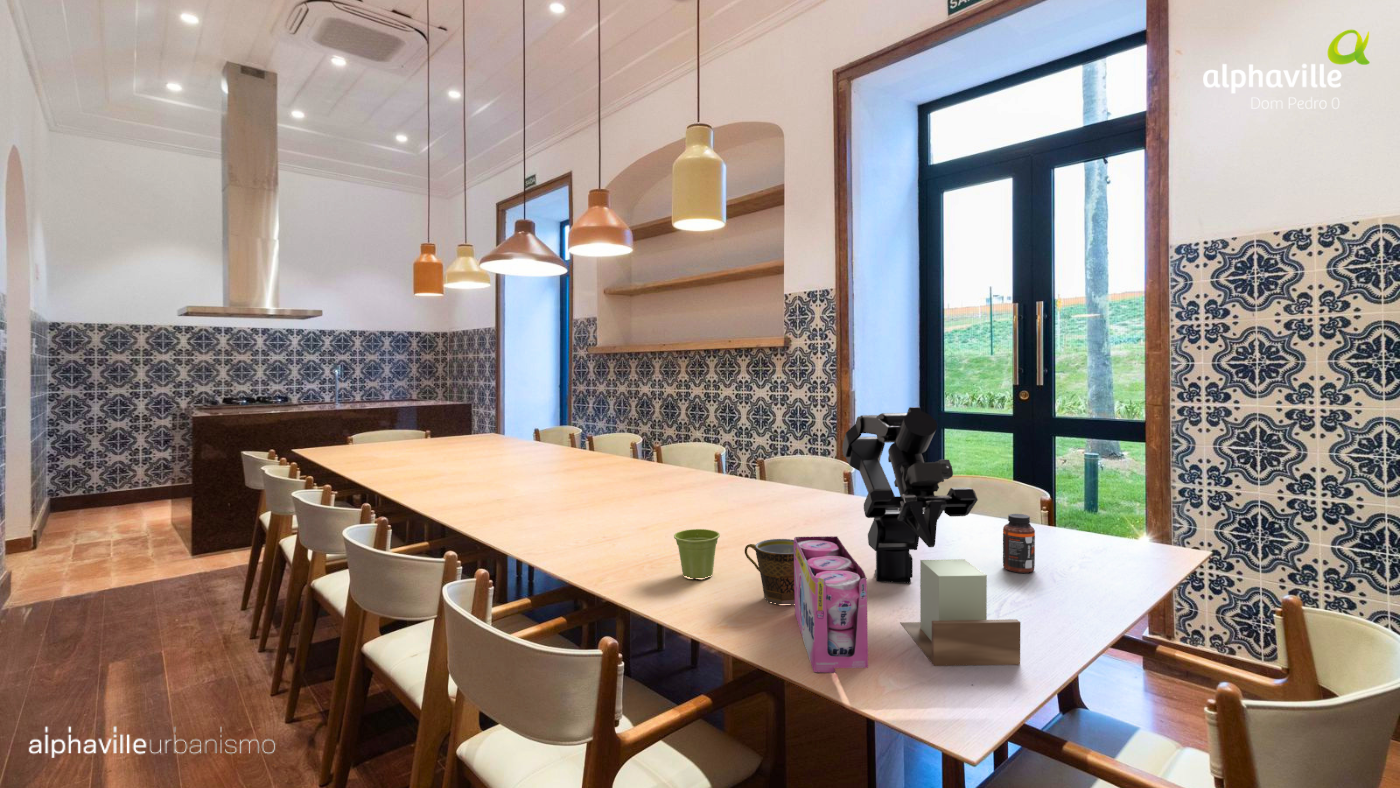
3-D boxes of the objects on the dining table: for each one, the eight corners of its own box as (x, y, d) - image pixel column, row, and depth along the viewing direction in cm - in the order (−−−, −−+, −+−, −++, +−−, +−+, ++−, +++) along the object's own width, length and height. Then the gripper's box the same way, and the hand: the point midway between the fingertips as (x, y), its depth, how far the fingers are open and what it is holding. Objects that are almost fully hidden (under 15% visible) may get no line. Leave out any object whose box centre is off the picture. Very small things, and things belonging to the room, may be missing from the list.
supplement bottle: (1038, 574, 131) (1039, 519, 131) (1007, 573, 132) (1007, 518, 132) (1029, 565, 137) (1030, 512, 137) (999, 564, 138) (999, 511, 138)
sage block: (920, 628, 104) (920, 559, 103) (964, 627, 104) (964, 559, 103) (938, 649, 96) (938, 576, 95) (986, 649, 96) (986, 575, 95)
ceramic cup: (819, 596, 121) (819, 543, 120) (795, 613, 112) (795, 556, 112) (758, 584, 128) (757, 534, 128) (731, 599, 120) (731, 546, 119)
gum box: (872, 678, 89) (872, 581, 88) (814, 679, 89) (813, 581, 89) (838, 612, 113) (838, 535, 112) (793, 613, 113) (792, 535, 113)
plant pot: (692, 587, 127) (691, 543, 127) (665, 575, 135) (665, 533, 134) (729, 577, 133) (729, 535, 132) (702, 566, 140) (701, 526, 140)
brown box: (900, 627, 106) (900, 586, 106) (973, 626, 106) (973, 585, 106) (934, 671, 91) (934, 623, 90) (1020, 670, 91) (1020, 622, 90)
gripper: (869, 443, 113) (889, 523, 103) (974, 442, 114) (1004, 521, 104) (855, 479, 122) (873, 555, 111) (953, 477, 122) (979, 553, 112)
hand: (932, 546), depth 110 cm, fingers closed
